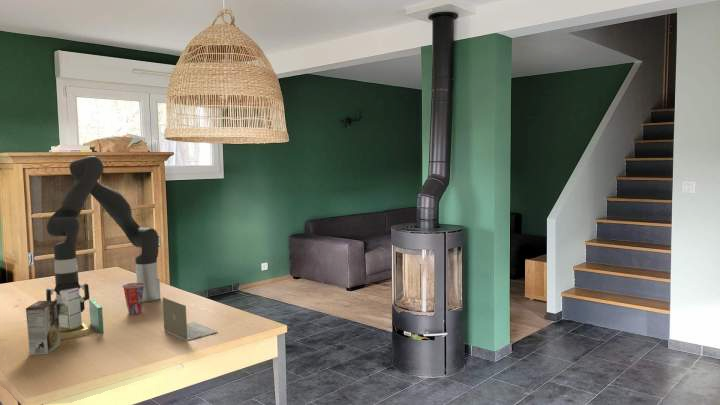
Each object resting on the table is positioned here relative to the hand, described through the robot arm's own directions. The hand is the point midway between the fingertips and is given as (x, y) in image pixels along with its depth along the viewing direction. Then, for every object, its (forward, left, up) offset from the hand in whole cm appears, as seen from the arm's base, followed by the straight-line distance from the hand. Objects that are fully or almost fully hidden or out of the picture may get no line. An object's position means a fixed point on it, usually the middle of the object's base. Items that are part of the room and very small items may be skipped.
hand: (69, 313), depth 203 cm
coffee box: (+10, +14, -8) cm, 19 cm away
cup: (-26, -13, -8) cm, 30 cm away
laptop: (-36, +28, -8) cm, 46 cm away
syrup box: (0, 0, -5) cm, 5 cm away
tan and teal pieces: (-2, 0, -8) cm, 8 cm away
